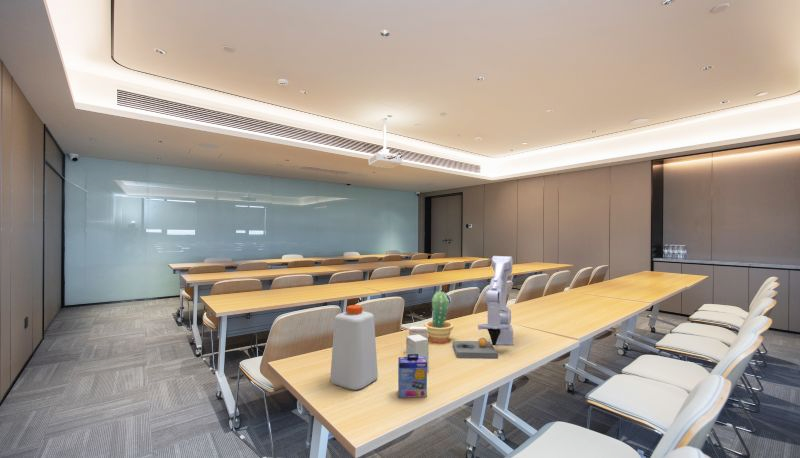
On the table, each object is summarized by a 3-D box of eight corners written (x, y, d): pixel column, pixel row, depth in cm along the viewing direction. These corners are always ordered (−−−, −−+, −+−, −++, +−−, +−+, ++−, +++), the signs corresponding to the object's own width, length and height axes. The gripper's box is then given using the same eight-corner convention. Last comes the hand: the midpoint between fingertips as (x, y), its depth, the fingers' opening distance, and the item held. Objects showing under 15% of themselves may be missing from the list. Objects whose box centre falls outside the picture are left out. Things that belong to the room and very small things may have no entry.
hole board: (489, 346, 165) (489, 341, 165) (497, 358, 149) (497, 352, 149) (452, 345, 165) (452, 340, 166) (457, 357, 150) (457, 352, 150)
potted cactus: (456, 344, 167) (456, 294, 167) (425, 344, 167) (425, 294, 167) (451, 335, 182) (451, 289, 183) (423, 335, 183) (423, 289, 183)
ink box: (427, 351, 158) (427, 326, 158) (427, 355, 153) (427, 329, 153) (409, 350, 159) (409, 325, 159) (409, 354, 154) (409, 328, 154)
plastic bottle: (357, 393, 117) (357, 313, 117) (325, 383, 125) (325, 307, 125) (382, 377, 129) (382, 305, 130) (351, 369, 137) (352, 300, 138)
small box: (428, 371, 135) (428, 339, 135) (415, 374, 132) (415, 341, 132) (419, 364, 142) (419, 333, 142) (405, 367, 139) (405, 335, 140)
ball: (485, 345, 159) (485, 336, 159) (487, 348, 155) (487, 339, 155) (477, 345, 159) (477, 336, 159) (479, 348, 155) (479, 339, 155)
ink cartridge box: (398, 398, 113) (398, 355, 113) (397, 390, 119) (397, 349, 119) (427, 397, 114) (427, 354, 114) (425, 389, 119) (425, 349, 120)
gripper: (480, 317, 153) (480, 347, 153) (512, 318, 153) (512, 347, 153) (477, 313, 160) (477, 342, 160) (507, 314, 160) (507, 342, 160)
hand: (493, 344), depth 157 cm, fingers closed
